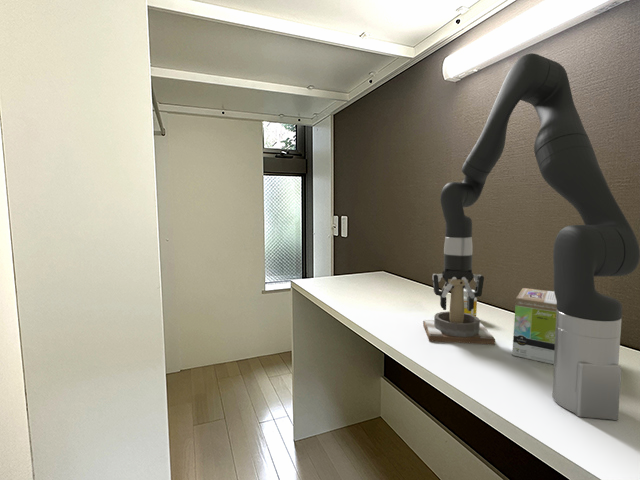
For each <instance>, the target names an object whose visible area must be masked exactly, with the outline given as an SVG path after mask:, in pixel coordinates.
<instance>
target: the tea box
mask: <svg viewBox="0 0 640 480" xmlns="http://www.w3.org/2000/svg"><path fill="white" fill-rule="evenodd" d="M514 307H515V308H514V321H513V322H514V323H513V338H512V339H513V340H512V356H515V357H519V358H522V359H527V360H532V361H535V362H540V363H541V362H542V363H546V364H549V365H554V350H555V329H556V310H557V301H556V297H555V293H554V290H553V291H552V290H545V289H544V290H543V289H536V288H526V287H522V289H521V290H520V292H519V293H518V295H516V297H515V305H514Z"/></svg>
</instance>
